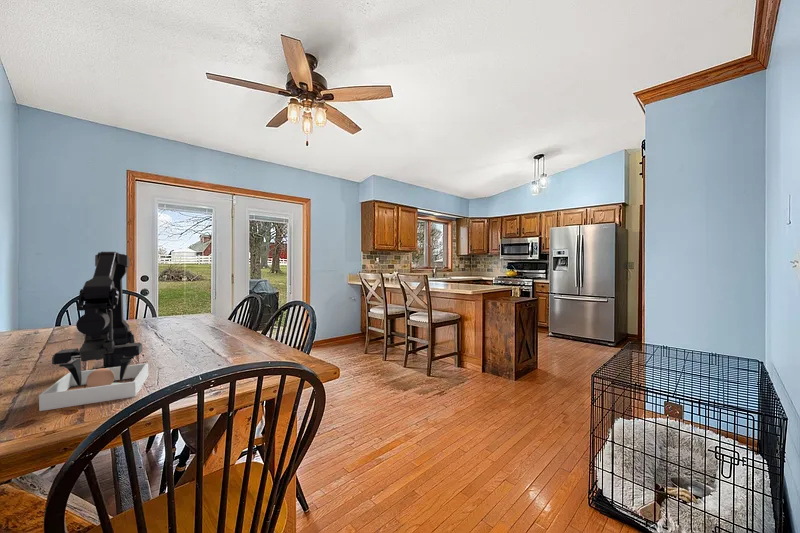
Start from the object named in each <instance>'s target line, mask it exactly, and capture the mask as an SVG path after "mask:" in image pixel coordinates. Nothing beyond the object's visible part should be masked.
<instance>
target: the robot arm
mask: <svg viewBox="0 0 800 533" xmlns="http://www.w3.org/2000/svg"><path fill="white" fill-rule="evenodd" d="M94 266H95V269H94V274H93V276H92V278H91V279H88V280H86V281H85V283H84V285H83V287H82V288H81V289H79V294H78V295H79V296H78V301H77V308H76V311H77V312H78V311H79V312H81V311H84V314H83V315H81V316H80V317H79V318H78V319H77V321H76V324H75V326H76V329H77V331H78V332H79V333H81V334H83V335H85V336H84V342H83V343H82V345H81V346H80V348H78V347H77V348H76V347H74V348H68V349H67V348H65V349H60V350H59V351H57V352H55V353H54V354H53V355H52V358H51V362H52V363H51V365H58V367H60V368H61V367H62V368H65V369H67V370H68V371H69V372H71V374H72V376H73V377H74V379H75V381H76V383H77V385H76V386H78V387H79V386H82V385H81V382H82V375H81V371H82V363H81V362H88V361H100V360H102V361H103V362H102V363H103V365H102V366H103V368H112V367H120V366H121V368H120V380H119V381H122V380H124V379H123V377H124V374H125V371H126V369H127V366H129V365H131V364H130V363H132V360H133V359H134V358H136V356H139V355H140V354H141V353H142V352H143V343H141V342H140V341H139V342H136V341H135V335H134V334H133V331H132V330H131V329H130V325H129V323H128V322H127V321H126V320H125V319H124V299H123V297H124V296H123V295H124V294H123V278H124V277H125V275H126V274H127V273H128V268H130V257H129V256H128V255H127V254H124V253H120V252H116V251H99V252H98V253H97V254H95V256H94Z"/></svg>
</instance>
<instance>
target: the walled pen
mask: <svg viewBox="0 0 800 533" xmlns="http://www.w3.org/2000/svg"><path fill="white" fill-rule="evenodd" d="M120 368H121V366H120V367H112V368H106V369H109V370H111V371H112V372H113V373H114V381H121V380H120ZM97 369H98V368H97ZM97 369H87V370H81V375H82V382H81V385H80V386H82V385H87V377H88V376H89V374H90V373H92V372H93V371H95V370H97ZM148 377H149V363H146V362H145V363H139V364H129V365H128V366H127V369H126V371H125V374H124V377H123V379H122V380H128V379H134V380H132V381H129V382H113V383H112V384H111V385H105V386H98V387H90V388H89V387H88V386H87V387H86V388H85V387H84V388H76V389H70V388H71V387H74V386H75V387H77V386H78V385H77V383H76V381H75V379H74V377H73V376H72V374H71V372H70V371H69V372H68V373H66V374H65V375H64V376H62V377H61V378H60V379H58V380H57V381H56V382H55V383H53V384H51V386H49V387H48V388H47V389H45V390H43V392H41V393H40V394H38V405H39V406H38V407H39V408H38V409H39V412H42V411H49V410H54V409H55V410H56V409H61V408H68V407H75V406H82V405H89V404H94V403H101V402H108V401H115V400H121V399H127V398H133V397H134V398H136V396H137V395H138V394H139V391H140V390H141V388H142V387H143V386H144V384H145V382H146V380H147V378H148ZM69 389H70V390H69Z"/></svg>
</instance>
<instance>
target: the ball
mask: <svg viewBox="0 0 800 533" xmlns="http://www.w3.org/2000/svg"><path fill="white" fill-rule="evenodd" d="M94 370H95V369H94ZM114 382H115V380H114V373H113V372H112V371H111V370H109V369H106V368H104V367H103V368H97V370H95V371H93V372H92V373H90V374H89V376H88V377H87V384H86V385H87V388H88V387H89V388H90V387H98V386H105V385H111V384H112V383H114Z"/></svg>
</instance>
